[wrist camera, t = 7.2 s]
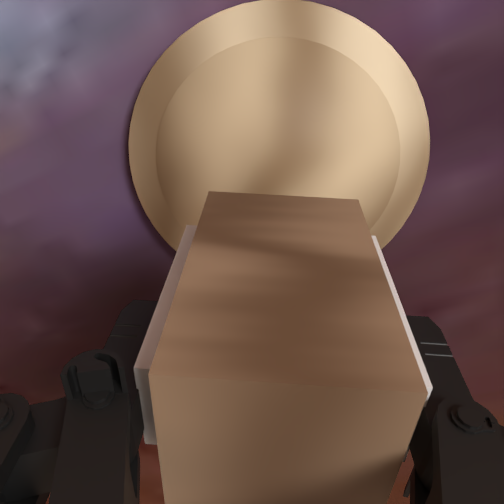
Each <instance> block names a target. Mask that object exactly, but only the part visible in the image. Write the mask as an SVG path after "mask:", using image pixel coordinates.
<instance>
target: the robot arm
mask: <svg viewBox="0 0 504 504" xmlns="http://www.w3.org/2000/svg"><path fill="white" fill-rule="evenodd" d="M196 228H197V226H196V225H187V226H186V228H185V231H184V234H183V236H182V239H181V242H180V244H179V247H178V250H177V252H176V255H175V258H174V260H173V263H172V266H171V268H170V271H169V274H168V277H167V279H166V282H165V285H164V287H163V290H162V293H161V295H160V298H159V301H145V300H133V301H132V302H131V303H129V304H128V305H127V306H126V307H125V308H124V309H123V310H122V311H121V313H120V315H119V317H118V319H117V321H116V323H115V326H114V327H113V329H112V332H111V334H110V337H109V338H108V340H107V342H106V344H105V346H104V348H103V349H95V350H91V351H87V352H83V353H81V354H79V355H77V356H76V357H74V358H72V359H71V360H70V361H69V362H68V363H67V364H66V365H65V366H64V368H63V370H62V372H61V374H60V376H61V380H62V383H63V387H64V390H65V394H66V397H64V398H60V399H57V400H53V401H48V402H43V403H38V404H33V405H29V403H28V401H27V400H26V399H25V398H24V397H22V396H21V395H17V394H13V393H8V394H0V504H45V503H46V501H47V499H48V496H49V494H50V498H49V504H139V490H140V458H139V452H138V448H139V445H140V441H141V438H142V435H143V433H144V440H145V444H156V445H157V438H156V431H155V423H154V415H153V407H152V400H151V392H150V384H149V377H148V374H149V371H150V367H151V364H152V361H153V358H154V355H155V352H156V349H157V346H158V343H159V340H160V337H161V334H162V331H163V328H164V325H165V322H166V319H167V316H168V313H169V310H170V307H171V304H172V301H173V298H174V295H175V292H176V289H177V286H178V283H179V280H180V277H181V274H182V271H183V268H184V265H185V262H186V259H187V256H188V253H189V250H190V247H191V243H192V240H193V237H194V234H195V231H196ZM372 239H373V242H374V245H375V247H376V250H377V253H378V256H379V258H380V261H381V264H382V267H383V269H384V272H385V275H386V278H387V281H388V283H389V286H390V289H391V292H392V294H393V297H394V300H395V303H396V305H397V308H398V311H399V314H400V316H401V319H402V322H403V325H404V328H405V330H406V333H407V336H408V339H409V341H410V344H411V347H412V350H413V352H414V355H415V358H416V361H417V363H418V366H419V369H420V372H421V375H422V377H423V380H424V383H425V386H426V388H427V391H428V395H427V398H426V400H425V403H424V406H423V408H422V411H421V414H420V416H419V419H418V421H417V424H416V427H415V429H414V432H413V435H412V437H411V440H410V443H409V445H408V448H407V451H406V453H405V456H404V458H403V461H402V462H405V459H406V457H407V454H408V451H409V449H410V451H411V454H412V458H413V461H414V467H413V470H412V472H411V475H410V477H409V480H408V482H407V484H406V487H405V490H404V494H403V496H404V497H407V498H408V496H409V493H410V504H504V427H503V426H501V425H499V424H498V422H497V420H496V418H495V417H494V416H493V415H492V414H491V413H490V412H489V410H487V409H486V408H484V407H483V406H482V405H480V404H479V403H477V402H475V401H474V400H473V398H472V396H471V394H470V392H469V389H468V387H467V385H466V383H465V381H464V379H463V377H462V374H461V372H460V370H459V368H458V366H457V364H456V361H455V359H454V358H453V357H452V353H451V351H450V348H449V346H447V342H446V340H445V338H444V335H443V333H442V331H441V329H440V328H439V327H438V326H437V325H436V324H435V323H434V322H433V321H432V320H431V319H430V318H429V317H422V316H406V315H405V313H404V310H403V307H402V305H401V302H400V299H399V297H398V294H397V291H396V289H395V286H394V283H393V281H392V278H391V275H390V273H389V270H388V268H387V265H386V262H385V260H384V257H383V254H382V252H381V249H380V246H379V244H378V241H377V238H376V236H372ZM50 492H51V493H50Z"/></svg>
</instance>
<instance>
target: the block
mask: <svg viewBox="0 0 504 504" xmlns="http://www.w3.org/2000/svg"><path fill="white" fill-rule="evenodd" d="M148 377H149V384H150V392H151V400H152V407H153V415H154V423H155V431H156V438H157V446H158V454H159V461H160V469H161V477H162V484H163V492H164V500H165V504H386V503H387V501H388V498H389V495H390V493H391V490H392V488H393V485H394V482H395V480H396V477H397V474H398V472H399V469H400V466H401V464H402V461H403V458H404V456H405V453H406V451H407V448H408V445H409V443H410V440H411V437H412V435H413V432H414V429H415V427H416V424H417V421H418V419H419V416H420V414H421V411H422V408H423V406H424V403H425V400H426V398H427V395H428V391H427V388H426V386H425V383H424V380H423V377H422V375H421V372H420V369H419V366H418V363H417V361H416V358H415V355H414V352H413V350H412V347H411V344H410V341H409V339H408V336H407V333H406V330H405V328H404V325H403V322H402V319H401V316H400V314H399V311H398V308H397V305H396V303H395V300H394V297H393V294H392V292H391V289H390V286H389V283H388V281H387V278H386V275H385V272H384V269H383V267H382V264H381V261H380V258H379V256H378V253H377V250H376V247H375V245H374V242H373V239H372V236H371V234H370V231H369V228H368V225H367V222H366V220H365V217H364V214H363V211H362V209H361V206H360V203H359V200H358V199H340V198H322V197H305V196H287V195H269V194H251V193H234V192H216V191H209V192H208V195H207V198H206V201H205V204H204V207H203V210H202V213H201V216H200V219H199V222H198V225H197V228H196V231H195V234H194V237H193V240H192V243H191V247H190V250H189V253H188V256H187V259H186V262H185V265H184V268H183V271H182V274H181V277H180V280H179V283H178V286H177V289H176V292H175V295H174V298H173V301H172V304H171V307H170V310H169V313H168V316H167V319H166V322H165V325H164V328H163V331H162V334H161V337H160V340H159V343H158V346H157V349H156V352H155V355H154V358H153V361H152V364H151V367H150V371H149V374H148Z"/></svg>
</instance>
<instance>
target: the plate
mask: <svg viewBox="0 0 504 504" xmlns="http://www.w3.org/2000/svg"><path fill="white" fill-rule="evenodd" d="M429 150H430V134H429V122H428V117H427V113H426V108H425V104H424V100H423V98H422V95H421V93H420V90H419V88H418V85H417V83H416V80H415V79H414V77H413V75H412V74H411V72H410V70H409V68H408V67H407V65H406V63H405V62H404V61H403V59H402V58H401V57H400V56H399V54H398V53H397V52H396V51H395V50H394V48H393V47H392V46H391V45H390V44H389V43H388V42H387V41H386V40H385V39H383V38H382V37H381V36H380V35H379V34H378V33H377V32H376V31H375V30H373V29H371V28H370V27H368V26H367V25H365V24H364V23H362V22H361V21H359V20H358V19H356V18H354V17H352V16H350V15H348V14H346V13H343V12H341V11H339V10H337V9H335V8H332V7H329V6H325V5H322V4H318V3H314V2H311V1H303V0H259V1H254V2H248V3H243V4H240V5H237V6H234V7H231V8H228V9H225V10H222V11H220V12H218V13H216V14H214V15H212V16H210V17H209V18H207V19H205V20H203V21H201V22H199V23H198V24H196V25H195V26H193V27H192V28H191V29H189V30H188V31H187V32H185V33H184V34H182V35H181V36H180V37H179V38H178V39H177V40H176V41H175V42H174V43H173V44H172V45H171V46H170V47H169V48H168V49H167V50H166V51H165V52H164V53H163V54H162V56H161V57H160V58H159V60H158V61H157V62H156V64H155V65H154V66H153V67H152V69H151V71H150V73H149V74H148V76H147V78H146V80H145V82H144V83H143V85H142V87H141V90H140V93H139V95H138V98H137V100H136V103H135V106H134V110H133V114H132V119H131V123H130V132H129V163H130V168H131V174H132V179H133V183H134V186H135V189H136V192H137V195H138V198H139V200H140V202H141V204H142V207H143V209H144V211H145V213H146V215H147V216H148V218H149V219H150V221H151V223H152V224H153V226H154V227H155V229H156V230H157V231H158V232H159V234H160V235H161V236H162V237H163V238H164V240H165V241H166V242H167V243H168V244H169V245H170V246H171V247H172V248H173V249H174V250H175V251H176V252H177V250H178V247H179V244H180V242H181V239H182V236H183V234H184V231H185V228H186V226H187V225H196V226H197V225H198V222H199V219H200V216H201V213H202V210H203V207H204V204H205V201H206V198H207V195H208V192H209V191H216V192H234V193H251V194H269V195H287V196H305V197H322V198H340V199H358V200H359V203H360V206H361V209H362V211H363V214H364V217H365V220H366V222H367V225H368V228H369V231H370V234H371V236H376V238H377V241H378V244H379V246H380V249H382V248H383V247H384V246H385V245H386V244H388V243H389V242H390V241H391V239H392V238H393V237H394V236H395V235H396V233H397V232H398V231H399V230H400V229H401V227H402V226H403V224H404V223H405V221H406V220H407V218H408V217H409V215H410V214H411V212H412V210H413V208H414V206H415V204H416V202H417V200H418V198H419V196H420V193H421V190H422V187H423V184H424V181H425V177H426V172H427V167H428V162H429Z"/></svg>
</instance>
